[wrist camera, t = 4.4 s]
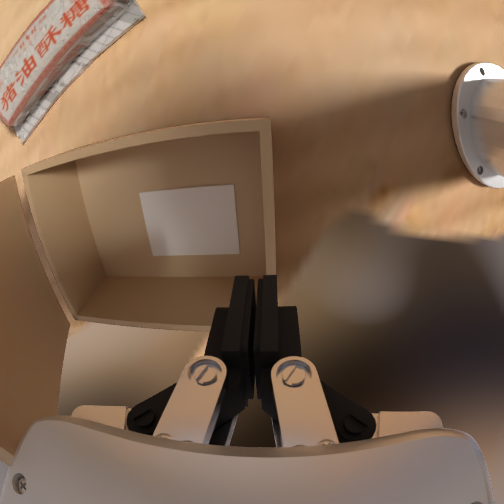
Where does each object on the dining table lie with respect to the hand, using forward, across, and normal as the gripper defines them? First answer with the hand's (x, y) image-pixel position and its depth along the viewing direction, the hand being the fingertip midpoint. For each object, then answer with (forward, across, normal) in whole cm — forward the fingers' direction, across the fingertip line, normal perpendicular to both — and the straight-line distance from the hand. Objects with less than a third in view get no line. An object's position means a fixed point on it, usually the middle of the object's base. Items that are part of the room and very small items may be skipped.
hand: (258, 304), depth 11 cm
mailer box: (+12, +8, 0) cm, 15 cm away
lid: (-2, +13, 0) cm, 13 cm away
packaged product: (+13, +18, -18) cm, 29 cm away
